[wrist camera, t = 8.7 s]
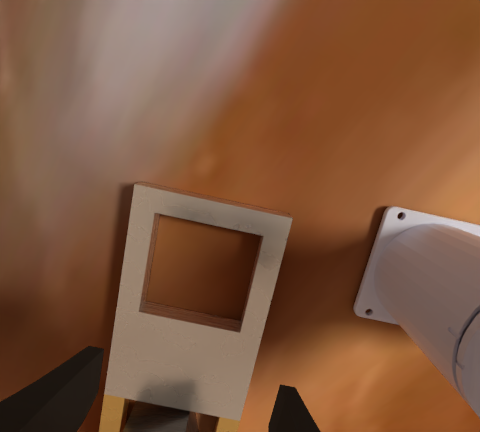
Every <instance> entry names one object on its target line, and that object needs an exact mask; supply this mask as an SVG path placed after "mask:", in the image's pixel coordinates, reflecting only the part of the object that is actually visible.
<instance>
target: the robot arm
mask: <svg viewBox="0 0 480 432" xmlns="http://www.w3.org/2000/svg"><path fill="white" fill-rule="evenodd" d="M400 212H402V213H403V216H402V217H401V218H400V219H398V218H397V216H398V214H399V213H400ZM367 309H371V310H370V312H368V313H365V311H366V310H367ZM353 310H354V312H355V314H356V315H357V316H359V317H363V318H368V319H373V320H378V321H382V322H387V323H392V324H397V325H400V326H401V327H402V329H403V330H404V331H405V332H406V333H407V334H408V335H409V337H410V338H411V339H412V340H413V341H414V342H415V344H416V345H417V346H418V347H419V348H420V349H421V350H422V352H423V353H424V354H425V355H426V356H427V357H428V359H429V360H430V361H431V362H432V363H433V364H434V365H435V367H436V368H437V369H438V370H439V371H440V372H441V373H442V375H443V376H444V377H445V378H446V379H447V380H448V382H449V383H450V384H451V385H452V386H453V387H454V388H455V390H456V391H457V392H458V393H459V394H460V395H461V396H462V398H463V399H464V400H465V401H466V402H467V403H468V404H469V406H470V407H471V408H472V409H473V410H474V411H475V413H476V414H477V415H478V416H479V418H480V225H477V224H473V223H468V222H464V221H459V220H455V219H450V218H446V217H441V216H437V215H432V214H427V213H423V212H418V211H414V210H409V209H405V208H400V207H396V206H390V207H388V208H387V209H386V210H385V212H384V214H383V218H382V221H381V224H380V227H379V230H378V233H377V236H376V239H375V242H374V245H373V248H372V251H371V254H370V258H369V261H368V264H367V267H366V270H365V273H364V276H363V279H362V282H361V285H360V288H359V291H358V295H357V298H356V301H355V304H354V307H353ZM103 353H104V349H102V348H97V347H92V346H88V347H86V348H85V349H83V350H82V351H80V352H79V353H77V354H76V355H75V356H73V357H72V358H70V359H69V360H67V361H66V362H64V363H63V364H61V365H60V366H58V367H57V368H55V369H54V370H52V371H51V372H49V373H48V374H46V375H45V376H43V377H42V378H40V379H39V380H37V381H35V382H34V383H32V384H30V385H29V386H27V387H25V388H24V389H22V390H20V391H19V392H17V393H15V394H14V395H12V396H10V397H8V398H7V399H5V400H3V401H1V402H0V432H77V430H78V429H79V427H80V426H81V424H82V422H83V421H84V419H85V417H86V415H87V413H88V411H89V410H90V408H91V406H92V403H93V401H94V399H95V397H96V395H97V393H98V389H99V382H100V374H101V367H102V360H103ZM269 432H320V430H319V428H318V427H317V425H316V423H315V422H314V420H313V418H312V417H311V415H310V413H309V411H308V410H307V408H306V406H305V404H304V402H303V401H302V399H301V397H300V395H299V393H298V392H297V390H296V388H295V387H290V386H285V385H280V387H279V391H278V394H277V398H276V401H275V405H274V408H273V412H272V415H271V419H270V422H269Z"/></svg>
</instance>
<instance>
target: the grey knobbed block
mask: <svg viewBox="0 0 480 432" xmlns="http://www.w3.org/2000/svg"><path fill="white" fill-rule="evenodd" d="M123 432H199V431H198V425H197V419H196V413H195V412H192V411H187V410H182V409H177V408H172V407H167V406H162V405H157V404H152V403H146V402H141V401H136V402H135V405H134V407H133V409H132V412H131V414H130V416H129V419H128V421H127V423H126V425H125V428H124V430H123Z"/></svg>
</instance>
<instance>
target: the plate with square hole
mask: <svg viewBox="0 0 480 432" xmlns="http://www.w3.org/2000/svg"><path fill="white" fill-rule="evenodd" d="M160 214H163V215H168V216H173V217H177V218H182V219H187V220H191V221H196V222H201V223H205V224H210V225H215V226H219V227H224V228H229V229H233V230H238V231H243V232H247V233H252V234H257V235H261V238H260V242H259V247H258V251H257V255H256V259H255V263H254V267H253V271H252V276H251V280H250V284H249V288H248V292H247V296H246V300H245V305H244V309H243V313H242V317H241V321H239V320H234V319H229V318H224V317H219V316H215V315H210V314H205V313H200V312H195V311H190V310H185V309H181V308H176V307H171V306H166V305H161V304H156V303H152V302H147V301H146V296H147V290H148V284H149V278H150V272H151V266H152V260H153V254H154V248H155V242H156V236H157V230H158V224H159V218H160ZM292 219H293V218H292V217H291V215H290V214H289V213H285V212H280V211H276V210H271V209H266V208H262V207H257V206H253V205H248V204H243V203H239V202H234V201H230V200H225V199H220V198H216V197H211V196H207V195H202V194H197V193H193V192H188V191H184V190H179V189H174V188H170V187H165V186H161V185H156V184H151V183H147V182H139V183H136V184H134V191H133V198H132V205H131V212H130V218H129V225H128V232H127V239H126V246H125V253H124V260H123V267H122V274H121V281H120V288H119V295H118V302H117V309H116V316H115V323H114V330H113V337H112V344H111V351H110V357H109V364H108V371H107V378H106V385H105V392H104V399H103V406H102V413H101V420H100V427H99V432H123V430H124V428H125V423H126V417H127V411H128V405H129V399H131V400H136V401H141V402H146V403H152V404H157V405H162V406H167V407H172V408H177V409H182V410H187V411H192V412H197V413H202V414H207V415H212V416H217V421H216V425H215V429H214V432H237V430H238V426H239V423H240V419H241V415H242V411H243V407H244V403H245V400H246V396H247V392H248V388H249V384H250V380H251V377H252V373H253V369H254V365H255V361H256V357H257V354H258V350H259V346H260V342H261V338H262V334H263V331H264V327H265V323H266V319H267V315H268V311H269V307H270V304H271V300H272V296H273V292H274V288H275V284H276V281H277V277H278V273H279V269H280V265H281V261H282V258H283V254H284V250H285V246H286V242H287V238H288V235H289V231H290V227H291V223H292Z"/></svg>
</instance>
